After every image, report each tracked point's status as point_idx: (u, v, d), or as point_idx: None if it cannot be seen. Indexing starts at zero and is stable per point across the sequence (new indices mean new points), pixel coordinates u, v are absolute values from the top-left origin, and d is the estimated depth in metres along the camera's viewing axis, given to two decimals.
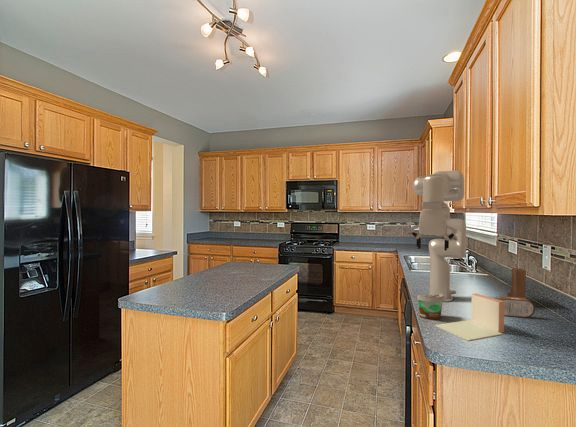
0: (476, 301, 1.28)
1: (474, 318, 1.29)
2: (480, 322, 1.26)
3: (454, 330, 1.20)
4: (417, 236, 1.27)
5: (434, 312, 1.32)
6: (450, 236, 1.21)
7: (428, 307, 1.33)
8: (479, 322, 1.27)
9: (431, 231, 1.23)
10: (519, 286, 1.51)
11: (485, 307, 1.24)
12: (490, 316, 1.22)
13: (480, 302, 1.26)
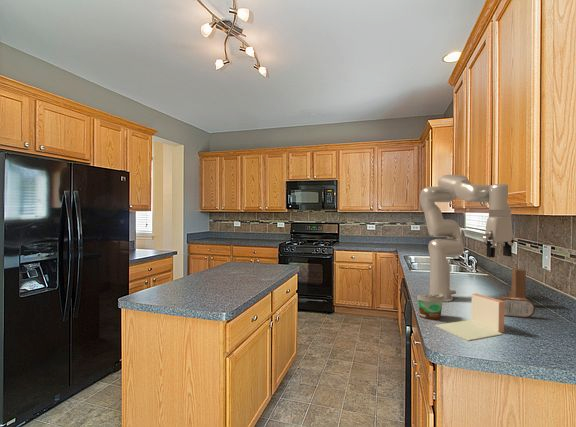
0: (476, 301, 1.28)
1: (474, 318, 1.29)
2: (480, 322, 1.26)
3: (454, 330, 1.20)
4: (492, 245, 1.24)
5: (434, 312, 1.32)
6: (512, 242, 1.28)
7: (428, 307, 1.33)
8: (479, 322, 1.27)
9: (503, 239, 1.25)
10: (519, 286, 1.51)
11: (485, 307, 1.24)
12: (490, 316, 1.22)
13: (480, 302, 1.26)
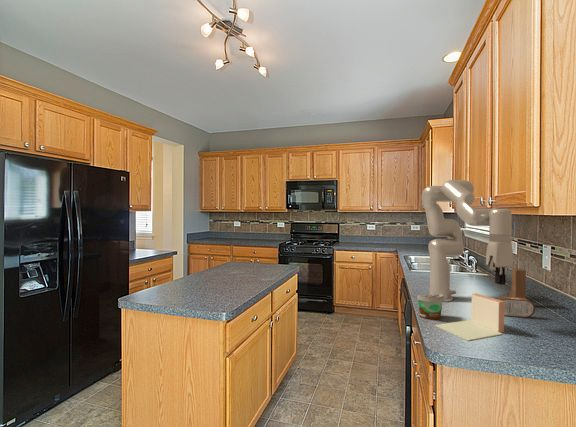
0: (476, 301, 1.28)
1: (474, 318, 1.29)
2: (480, 322, 1.26)
3: (454, 330, 1.20)
4: None
5: (434, 312, 1.32)
6: None
7: (428, 307, 1.33)
8: (479, 322, 1.27)
9: (504, 264, 1.25)
10: (519, 286, 1.51)
11: (485, 307, 1.24)
12: (490, 316, 1.22)
13: (480, 302, 1.26)
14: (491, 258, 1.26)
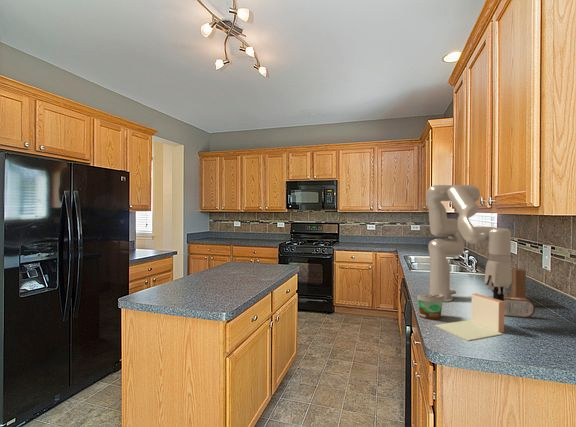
0: (476, 301, 1.28)
1: (474, 318, 1.29)
2: (480, 322, 1.26)
3: (454, 330, 1.20)
4: None
5: (434, 312, 1.32)
6: None
7: (428, 307, 1.33)
8: (479, 322, 1.27)
9: (502, 283, 1.25)
10: (519, 286, 1.51)
11: (485, 307, 1.24)
12: (490, 316, 1.22)
13: (480, 302, 1.26)
14: (490, 278, 1.26)
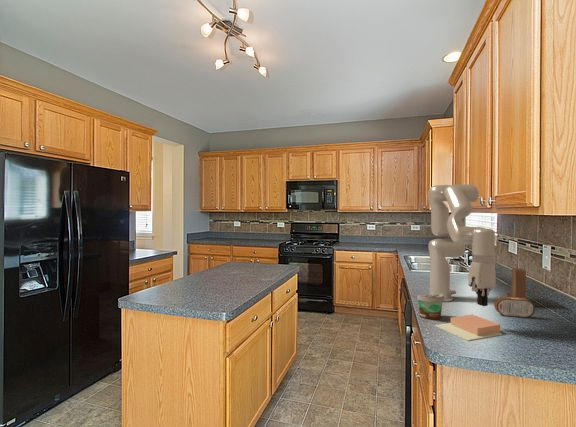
0: None
1: None
2: None
3: (454, 330, 1.20)
4: None
5: (434, 312, 1.32)
6: None
7: (428, 307, 1.33)
8: None
9: (486, 285, 1.22)
10: (519, 286, 1.51)
11: None
12: None
13: None
14: (473, 279, 1.23)
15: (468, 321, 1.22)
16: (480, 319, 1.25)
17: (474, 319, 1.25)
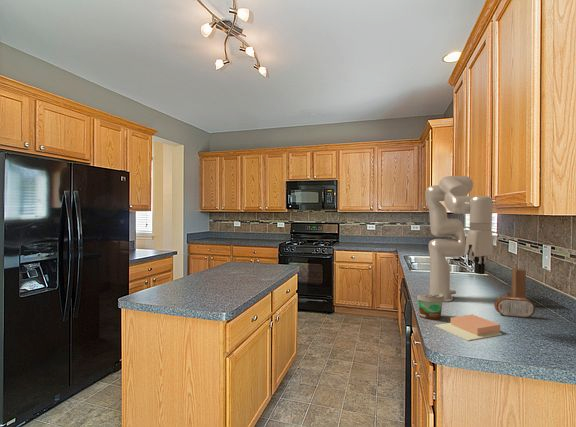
0: None
1: None
2: None
3: (454, 330, 1.20)
4: None
5: (434, 312, 1.32)
6: None
7: (428, 307, 1.33)
8: None
9: (483, 253, 1.21)
10: (519, 286, 1.51)
11: None
12: None
13: None
14: (470, 247, 1.22)
15: (468, 321, 1.22)
16: (480, 319, 1.25)
17: (474, 319, 1.25)
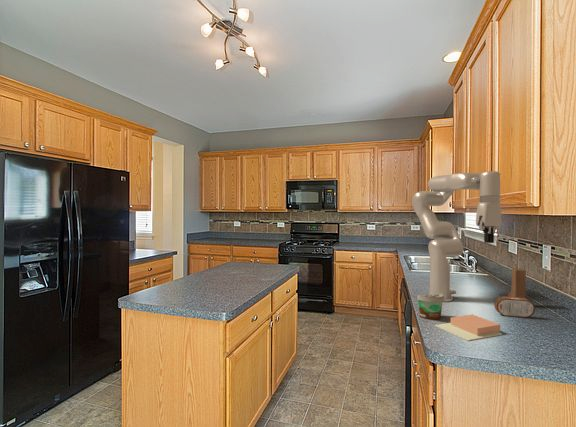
0: None
1: None
2: None
3: (454, 330, 1.20)
4: None
5: (434, 312, 1.32)
6: None
7: (428, 307, 1.33)
8: None
9: (492, 223, 1.32)
10: (519, 286, 1.51)
11: None
12: None
13: None
14: (480, 218, 1.33)
15: (468, 321, 1.22)
16: (480, 319, 1.25)
17: (474, 319, 1.25)
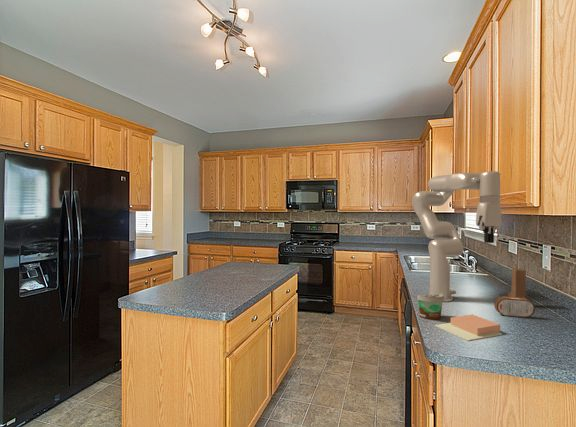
0: None
1: None
2: None
3: (454, 330, 1.20)
4: None
5: (434, 312, 1.32)
6: None
7: (428, 307, 1.33)
8: None
9: (492, 223, 1.32)
10: (519, 286, 1.51)
11: None
12: None
13: None
14: (480, 218, 1.33)
15: (468, 321, 1.22)
16: (480, 319, 1.25)
17: (474, 319, 1.25)
